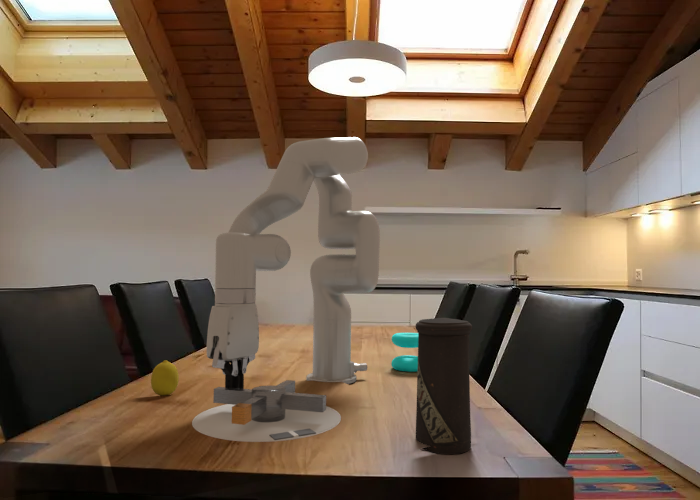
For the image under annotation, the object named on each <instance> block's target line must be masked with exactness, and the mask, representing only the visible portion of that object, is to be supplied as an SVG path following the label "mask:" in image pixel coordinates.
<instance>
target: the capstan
mask: <svg viewBox="0 0 700 500" xmlns="http://www.w3.org/2000/svg"><path fill="white" fill-rule="evenodd" d="M212 400H213V402H212V403H214V404H222V405H226V404H233V405H234V406H233V407H232V424H242V425H245V424H246V423H248V422H250V421H251V420H253V421H257V422H277V421H281V420H283V419H284V418H285V409H290V410H301V411H312V412H324V411H325V410H326V406H327V395H326V394H315V393H303V392H300V393H299V392H296V380H290V379H286V380H284V381H282V382H280V383H278V384H277V385H261V386H256V387H253V388H251V389H250V388H244V389H240V388H228V387H225V386H218V387H215V388H213V399H212Z"/></svg>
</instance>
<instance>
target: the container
mask: <svg viewBox="0 0 700 500" xmlns="http://www.w3.org/2000/svg"><path fill="white" fill-rule="evenodd" d="M415 330H416V333H418V348H417V356H418V371H417V372H416V373H417V375H416V376H417V377H416V378H417V379H416V380H417V381H416V410H415V411H416V412H415V440H416V441H417V442H419V443H420V444H422V445H425V446H426V447H421V450H424V451H426V452H431V453H436V454H442V455H443V454H444V455H457V454H458V455H459V454H463V453H466V452H468V451H470V450H471V447H472V429H471V428H472V426H471V425H472V424H471V422H472V421H471V393H470V391H471V388H470V384H471V383H470V334H471V332H472V330H473V325H472V324H471V323H470V322H469V321H467V320H463V319H462V320H461V319H457V318H449V317H438V318H437V317H436V318H433V317H432V318H424V319H420V320H419V321H418V322H416V323H415Z"/></svg>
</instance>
